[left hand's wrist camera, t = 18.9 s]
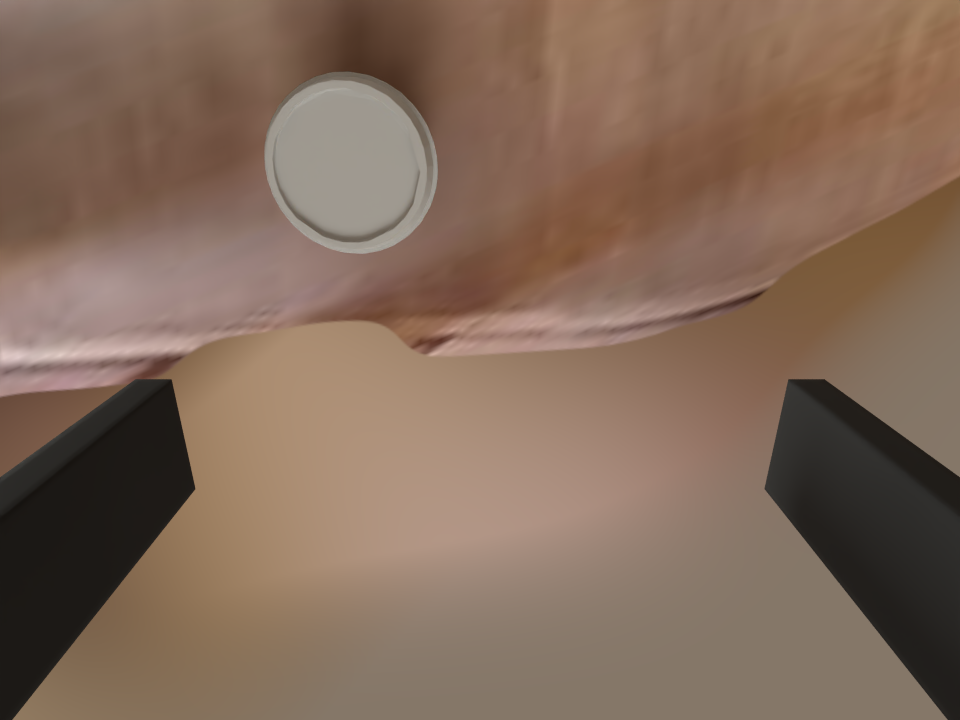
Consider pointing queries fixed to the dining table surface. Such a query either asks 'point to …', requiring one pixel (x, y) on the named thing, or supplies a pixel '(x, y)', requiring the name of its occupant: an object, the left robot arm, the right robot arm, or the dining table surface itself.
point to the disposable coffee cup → (351, 162)
